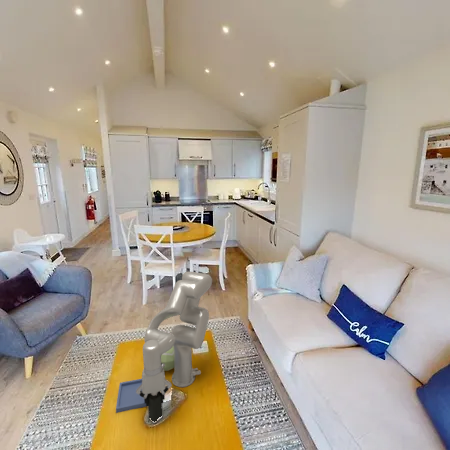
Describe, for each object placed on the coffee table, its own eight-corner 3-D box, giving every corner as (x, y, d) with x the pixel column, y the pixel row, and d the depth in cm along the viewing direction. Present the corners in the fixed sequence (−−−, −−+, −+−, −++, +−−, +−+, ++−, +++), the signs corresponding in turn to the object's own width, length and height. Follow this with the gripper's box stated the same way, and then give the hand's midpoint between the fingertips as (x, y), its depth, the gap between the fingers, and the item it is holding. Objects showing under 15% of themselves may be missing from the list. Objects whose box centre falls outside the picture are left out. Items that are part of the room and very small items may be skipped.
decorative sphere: (183, 358, 160) (182, 336, 156) (176, 377, 145) (175, 354, 142) (159, 356, 161) (158, 335, 158) (150, 375, 146) (148, 351, 143)
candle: (157, 410, 125) (154, 364, 120) (163, 416, 122) (161, 370, 117) (147, 417, 122) (144, 371, 116) (154, 424, 118) (151, 377, 113)
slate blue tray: (151, 380, 143) (151, 376, 143) (151, 405, 128) (151, 401, 128) (120, 386, 139) (119, 382, 139) (116, 412, 124) (115, 409, 123)
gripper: (172, 358, 122) (173, 391, 126) (132, 365, 118) (135, 399, 121) (173, 370, 115) (174, 404, 119) (131, 378, 111) (134, 413, 114)
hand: (154, 401), depth 120 cm, fingers closed on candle, 6 cm apart
